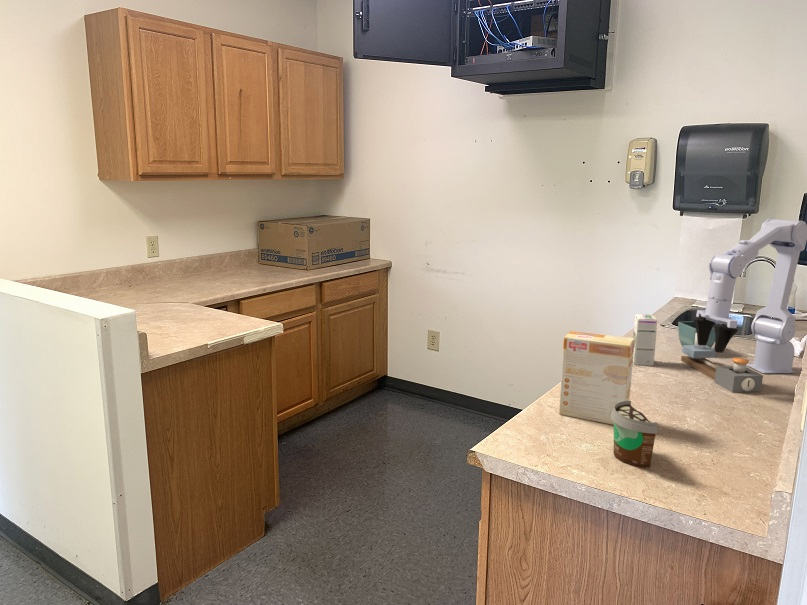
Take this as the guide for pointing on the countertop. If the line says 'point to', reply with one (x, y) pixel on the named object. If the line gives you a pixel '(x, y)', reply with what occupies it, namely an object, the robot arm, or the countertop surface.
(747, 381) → the button box
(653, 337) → the syrup box
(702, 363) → the rail
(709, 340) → the flower pot
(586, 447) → the countertop surface
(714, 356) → the carriage
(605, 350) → the coffeecake box
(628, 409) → the food container
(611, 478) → the countertop surface
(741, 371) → the button
